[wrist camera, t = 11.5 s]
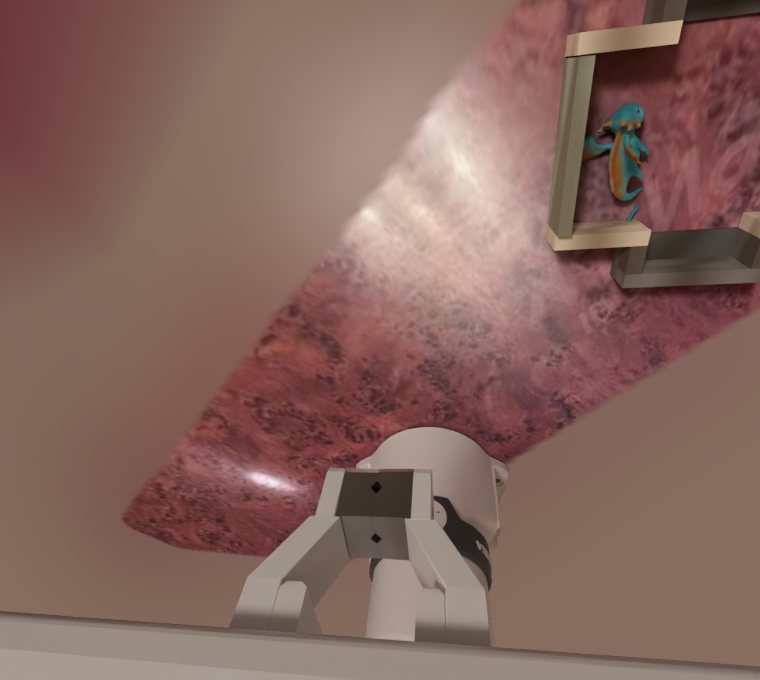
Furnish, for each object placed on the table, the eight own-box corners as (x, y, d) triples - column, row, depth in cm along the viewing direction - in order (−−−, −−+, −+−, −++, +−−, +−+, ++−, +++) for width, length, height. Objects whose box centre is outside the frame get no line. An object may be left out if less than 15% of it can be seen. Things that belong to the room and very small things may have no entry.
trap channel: (917, -81, 25) (981, -101, 22) (776, 266, 36) (806, 283, 33) (574, -32, 28) (591, -44, 25) (541, 277, 39) (550, 293, 36)
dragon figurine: (719, 152, 32) (674, 87, 28) (665, 243, 33) (614, 195, 29) (637, 151, 37) (589, 97, 33) (593, 230, 38) (541, 188, 34)
